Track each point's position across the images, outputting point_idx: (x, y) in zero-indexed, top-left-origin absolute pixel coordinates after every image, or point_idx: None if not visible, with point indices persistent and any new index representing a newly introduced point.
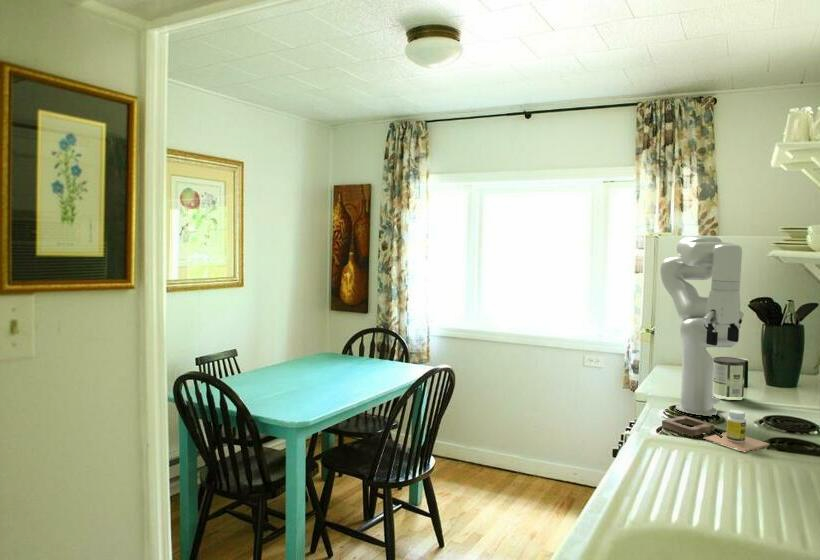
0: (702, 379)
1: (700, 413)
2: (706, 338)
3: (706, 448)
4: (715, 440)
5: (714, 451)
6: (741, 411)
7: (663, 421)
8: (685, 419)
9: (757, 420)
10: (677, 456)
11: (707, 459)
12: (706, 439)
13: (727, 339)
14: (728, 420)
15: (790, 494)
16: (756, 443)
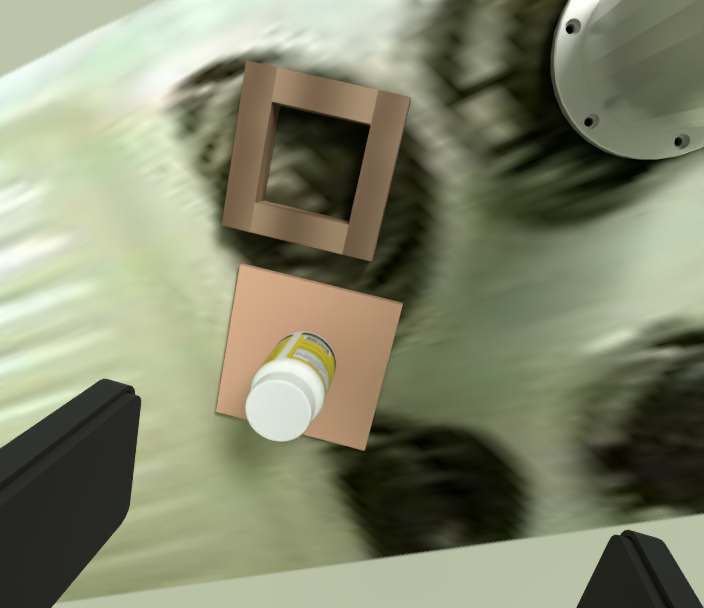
0: (691, 72)
1: (570, 112)
2: (53, 412)
3: (162, 308)
4: (246, 309)
5: (157, 338)
6: (297, 424)
7: (245, 69)
8: (369, 123)
9: (700, 324)
10: (11, 272)
11: (69, 349)
12: (238, 277)
13: (617, 538)
14: (258, 370)
15: None
16: (329, 420)
